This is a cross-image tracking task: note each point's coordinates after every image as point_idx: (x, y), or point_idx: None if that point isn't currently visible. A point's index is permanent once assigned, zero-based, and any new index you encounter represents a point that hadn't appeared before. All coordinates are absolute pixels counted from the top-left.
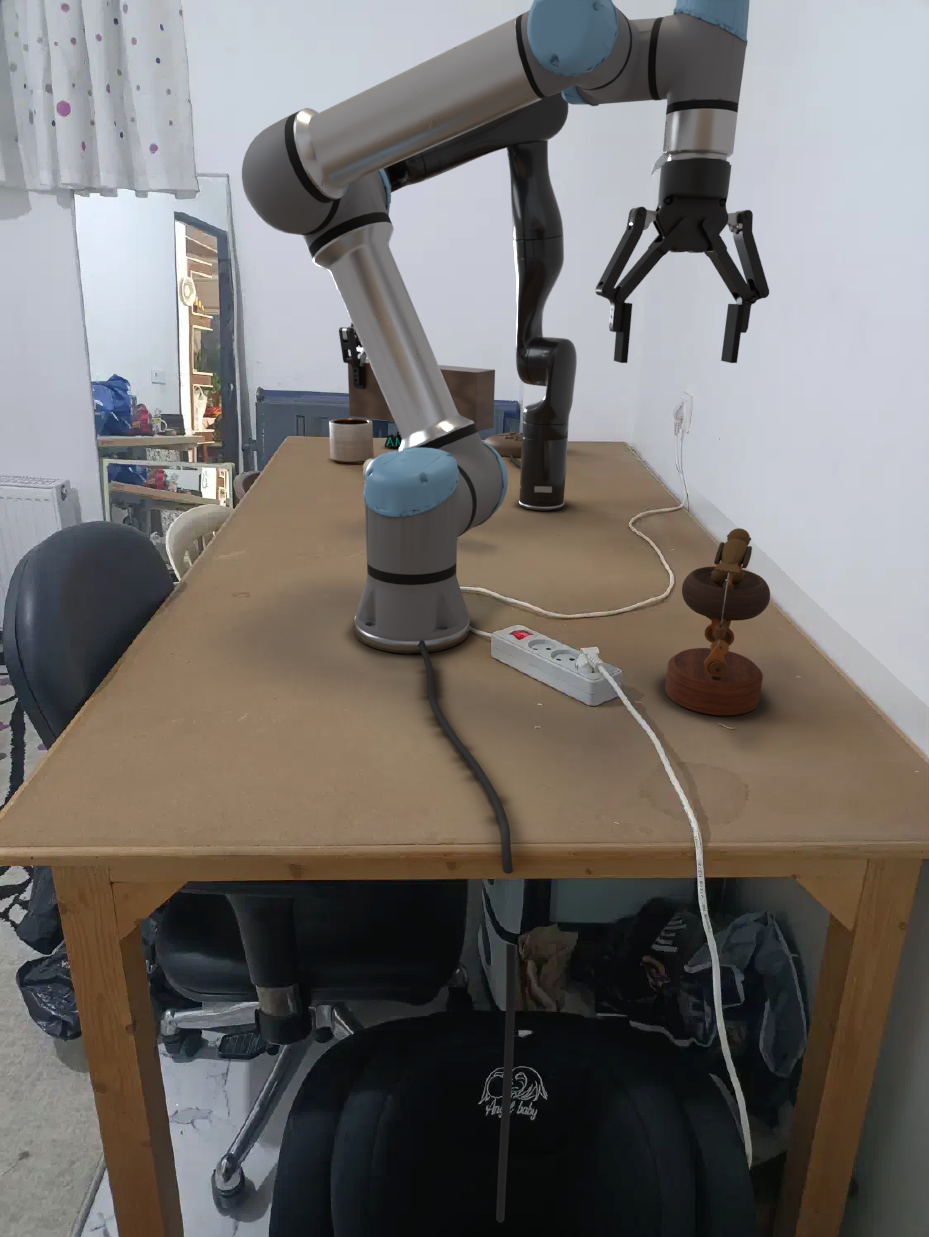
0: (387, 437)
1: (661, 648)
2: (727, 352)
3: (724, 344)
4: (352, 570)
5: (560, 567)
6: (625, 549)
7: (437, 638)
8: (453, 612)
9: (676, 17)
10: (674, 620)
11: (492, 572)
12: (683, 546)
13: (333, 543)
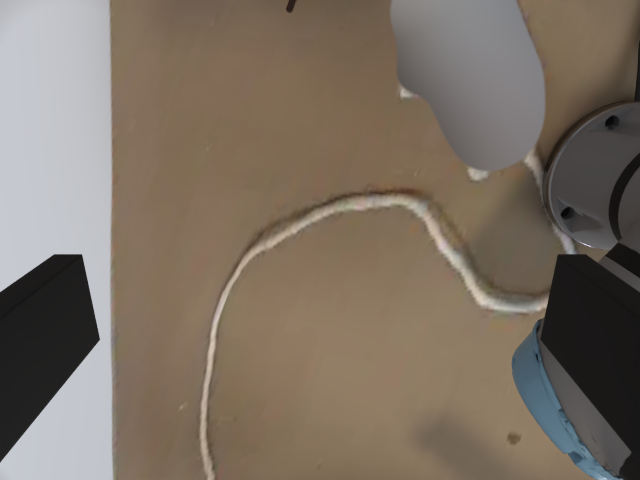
0: None
1: (318, 79)
2: (70, 316)
3: (60, 372)
4: None
5: (354, 361)
6: (246, 413)
7: (619, 106)
8: (605, 134)
9: None
10: (267, 169)
11: (448, 353)
12: (163, 416)
13: None
